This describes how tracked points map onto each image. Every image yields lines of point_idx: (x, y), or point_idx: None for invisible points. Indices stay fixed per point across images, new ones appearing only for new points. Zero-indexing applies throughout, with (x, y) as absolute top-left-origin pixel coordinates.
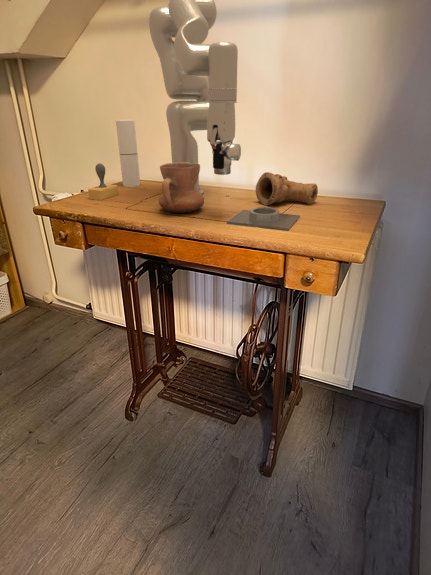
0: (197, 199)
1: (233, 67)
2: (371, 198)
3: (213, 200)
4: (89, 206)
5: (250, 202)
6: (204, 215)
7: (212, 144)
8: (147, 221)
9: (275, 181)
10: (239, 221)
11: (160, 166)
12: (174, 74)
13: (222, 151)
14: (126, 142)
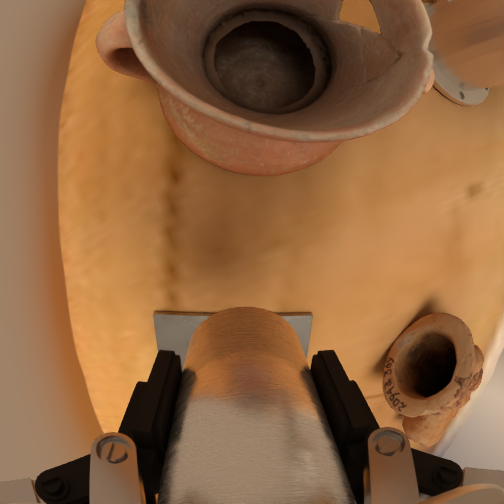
0: (233, 163)
1: None
2: (438, 454)
3: (425, 157)
4: None
5: (423, 288)
6: (216, 201)
7: (4, 493)
8: (89, 65)
9: (411, 415)
10: (171, 347)
11: None
12: None
13: (150, 498)
14: None
